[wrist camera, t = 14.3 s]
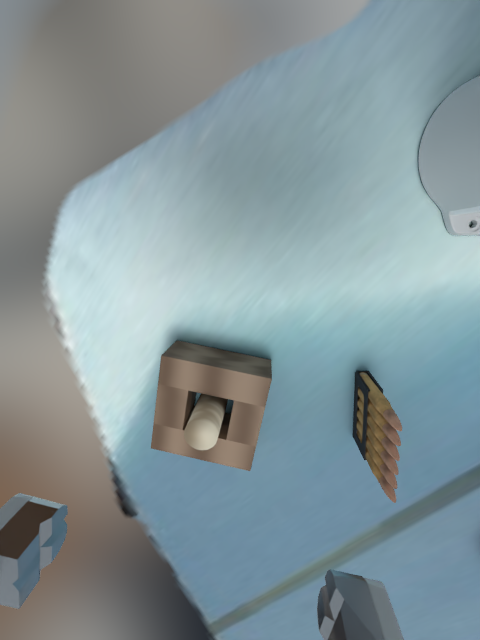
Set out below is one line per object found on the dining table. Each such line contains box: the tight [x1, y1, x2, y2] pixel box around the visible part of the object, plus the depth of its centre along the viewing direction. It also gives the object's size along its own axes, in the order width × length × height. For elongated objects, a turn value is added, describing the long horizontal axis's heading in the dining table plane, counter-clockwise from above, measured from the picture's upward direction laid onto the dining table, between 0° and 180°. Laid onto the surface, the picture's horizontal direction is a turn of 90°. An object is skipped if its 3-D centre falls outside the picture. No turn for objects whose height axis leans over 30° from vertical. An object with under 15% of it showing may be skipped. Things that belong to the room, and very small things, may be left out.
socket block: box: [151, 340, 272, 471], centre depth 39 cm, size 14×14×6 cm
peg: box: [184, 393, 228, 450], centre depth 37 cm, size 4×4×10 cm
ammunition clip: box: [353, 371, 402, 503], centre depth 34 cm, size 11×2×12 cm, turn 4°
